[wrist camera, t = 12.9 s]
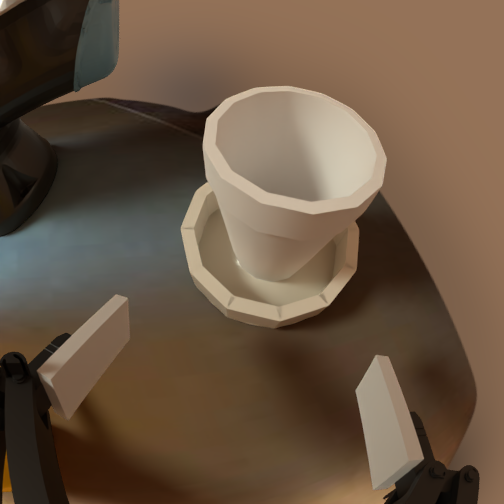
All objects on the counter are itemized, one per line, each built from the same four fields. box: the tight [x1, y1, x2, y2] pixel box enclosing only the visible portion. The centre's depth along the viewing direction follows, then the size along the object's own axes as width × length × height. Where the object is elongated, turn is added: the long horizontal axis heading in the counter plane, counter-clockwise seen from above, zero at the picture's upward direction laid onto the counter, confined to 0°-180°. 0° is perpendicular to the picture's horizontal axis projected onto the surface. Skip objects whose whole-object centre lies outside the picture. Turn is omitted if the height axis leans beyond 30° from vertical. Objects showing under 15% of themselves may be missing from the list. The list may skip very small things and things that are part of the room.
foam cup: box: [203, 86, 387, 282], centre depth 19 cm, size 10×9×13 cm
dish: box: [181, 182, 359, 329], centre depth 24 cm, size 14×14×4 cm
